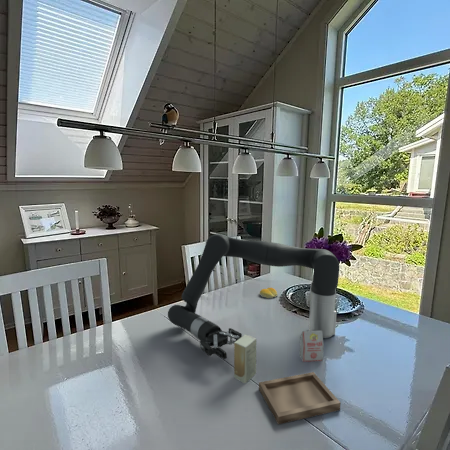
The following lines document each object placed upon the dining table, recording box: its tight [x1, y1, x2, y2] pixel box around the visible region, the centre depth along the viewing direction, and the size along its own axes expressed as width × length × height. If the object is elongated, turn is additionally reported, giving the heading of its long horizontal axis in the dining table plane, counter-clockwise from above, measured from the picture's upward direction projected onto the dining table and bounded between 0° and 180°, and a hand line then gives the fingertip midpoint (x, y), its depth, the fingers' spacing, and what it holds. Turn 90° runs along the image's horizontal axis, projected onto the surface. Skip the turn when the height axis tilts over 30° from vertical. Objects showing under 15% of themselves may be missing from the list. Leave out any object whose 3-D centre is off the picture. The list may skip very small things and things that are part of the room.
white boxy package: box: [299, 330, 324, 363], centre depth 101 cm, size 4×7×10 cm, turn 94°
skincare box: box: [233, 334, 257, 384], centre depth 91 cm, size 6×4×12 cm
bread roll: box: [259, 287, 278, 299], centre depth 155 cm, size 8×9×4 cm
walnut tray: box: [258, 371, 341, 425], centre depth 83 cm, size 18×13×2 cm
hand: (235, 350), depth 95 cm, fingers open, 8 cm apart
